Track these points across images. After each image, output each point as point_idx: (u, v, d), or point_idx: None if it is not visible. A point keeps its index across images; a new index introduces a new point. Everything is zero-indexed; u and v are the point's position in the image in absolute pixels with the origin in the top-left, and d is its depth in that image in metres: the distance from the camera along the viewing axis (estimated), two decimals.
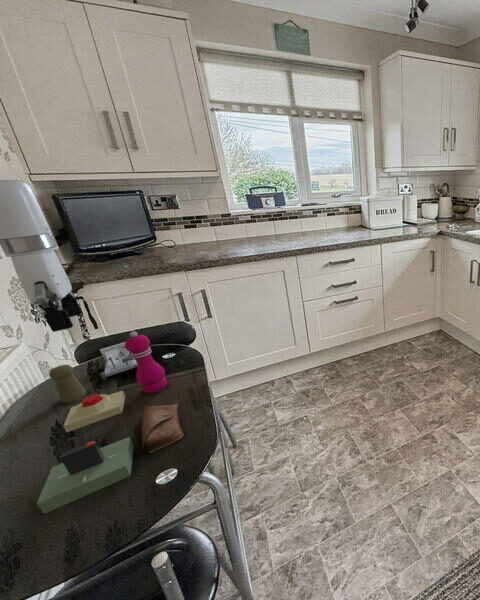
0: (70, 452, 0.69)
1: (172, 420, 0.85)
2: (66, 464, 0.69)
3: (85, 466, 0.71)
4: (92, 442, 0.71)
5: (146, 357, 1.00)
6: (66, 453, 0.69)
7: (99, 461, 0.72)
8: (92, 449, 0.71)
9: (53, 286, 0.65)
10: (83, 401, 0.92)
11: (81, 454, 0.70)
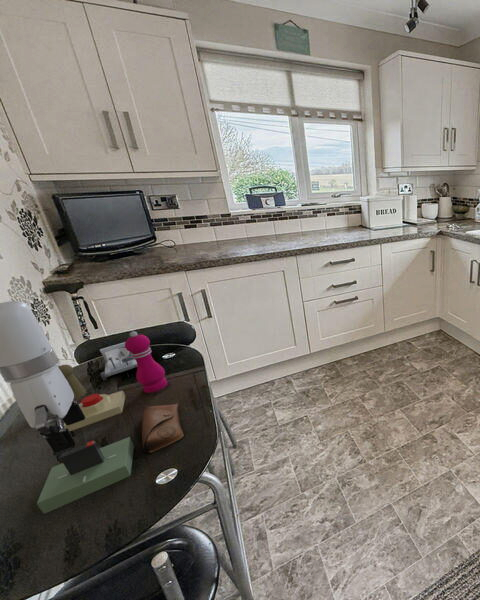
0: (70, 452, 0.69)
1: (172, 420, 0.85)
2: (66, 464, 0.69)
3: (85, 466, 0.71)
4: (92, 442, 0.71)
5: (146, 357, 1.00)
6: (66, 453, 0.69)
7: (99, 461, 0.72)
8: (92, 449, 0.71)
9: (55, 408, 0.62)
10: (83, 401, 0.92)
11: (81, 454, 0.70)
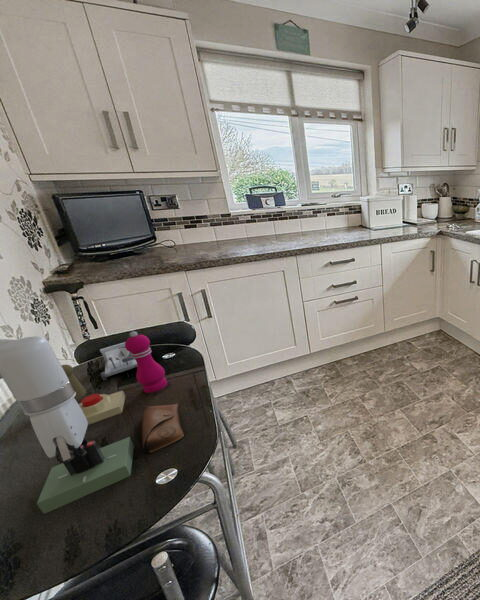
0: None
1: (172, 420, 0.85)
2: (66, 464, 0.69)
3: None
4: (92, 442, 0.71)
5: (146, 357, 1.00)
6: None
7: (99, 461, 0.72)
8: (92, 449, 0.71)
9: (71, 438, 0.65)
10: (83, 401, 0.92)
11: None
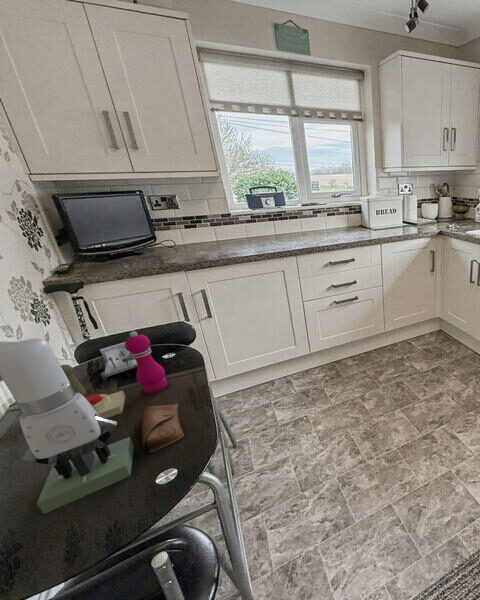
0: (78, 451, 0.69)
1: (172, 420, 0.85)
2: (84, 461, 0.69)
3: (91, 462, 0.72)
4: None
5: (146, 357, 1.00)
6: (76, 454, 0.69)
7: (93, 456, 0.74)
8: (86, 444, 0.72)
9: (98, 416, 0.72)
10: None
11: (85, 450, 0.71)
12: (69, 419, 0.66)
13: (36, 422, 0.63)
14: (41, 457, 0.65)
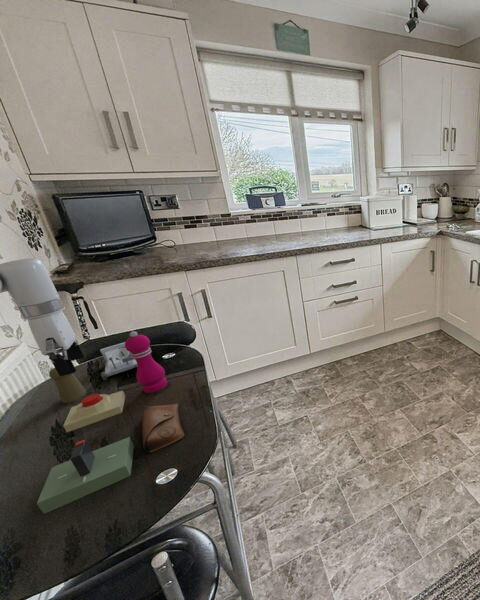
0: (78, 451, 0.69)
1: (173, 420, 0.85)
2: (84, 461, 0.69)
3: (91, 462, 0.72)
4: (79, 441, 0.72)
5: (146, 357, 1.00)
6: (76, 454, 0.69)
7: (93, 456, 0.74)
8: (86, 444, 0.72)
9: (61, 341, 0.82)
10: (83, 401, 0.92)
11: (85, 450, 0.71)
12: None
13: None
14: None
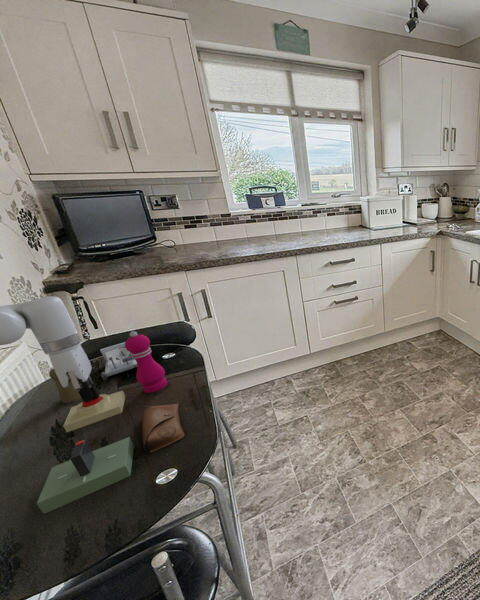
0: (78, 451, 0.69)
1: (173, 420, 0.85)
2: (84, 461, 0.69)
3: (91, 462, 0.72)
4: (79, 441, 0.72)
5: (146, 357, 1.00)
6: (76, 454, 0.69)
7: (93, 456, 0.74)
8: (86, 444, 0.72)
9: (80, 373, 0.87)
10: (84, 402, 0.92)
11: (85, 450, 0.71)
12: None
13: None
14: None
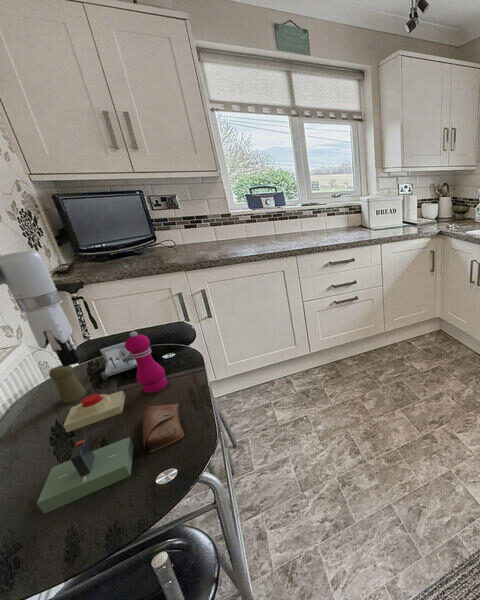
0: (78, 451, 0.69)
1: (173, 420, 0.85)
2: (84, 461, 0.69)
3: (91, 462, 0.72)
4: (79, 441, 0.72)
5: (146, 357, 1.00)
6: (76, 454, 0.69)
7: (93, 456, 0.74)
8: (86, 444, 0.72)
9: (58, 334, 0.82)
10: (83, 401, 0.92)
11: (85, 450, 0.71)
12: None
13: None
14: None
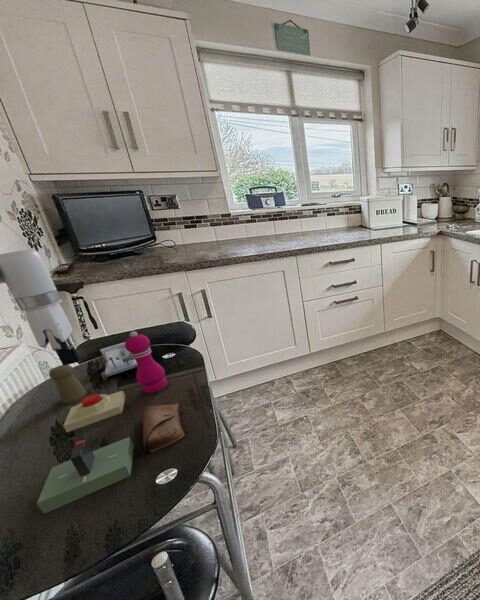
0: (78, 451, 0.69)
1: (173, 420, 0.85)
2: (84, 461, 0.69)
3: (91, 462, 0.72)
4: (79, 441, 0.72)
5: (146, 357, 1.00)
6: (76, 454, 0.69)
7: (93, 456, 0.74)
8: (86, 444, 0.72)
9: (58, 332, 0.82)
10: (83, 401, 0.92)
11: (85, 450, 0.71)
12: None
13: None
14: None
